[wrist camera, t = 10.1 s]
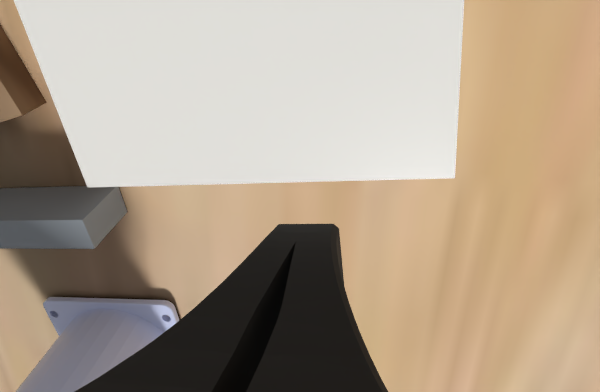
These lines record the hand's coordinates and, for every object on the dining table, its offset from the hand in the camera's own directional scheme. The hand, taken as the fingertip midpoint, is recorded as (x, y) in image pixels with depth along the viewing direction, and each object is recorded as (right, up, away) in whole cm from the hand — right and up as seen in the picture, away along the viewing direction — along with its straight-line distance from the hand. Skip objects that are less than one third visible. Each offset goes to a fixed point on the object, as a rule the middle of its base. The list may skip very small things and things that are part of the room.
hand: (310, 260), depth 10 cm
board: (-2, +8, +7) cm, 11 cm away
